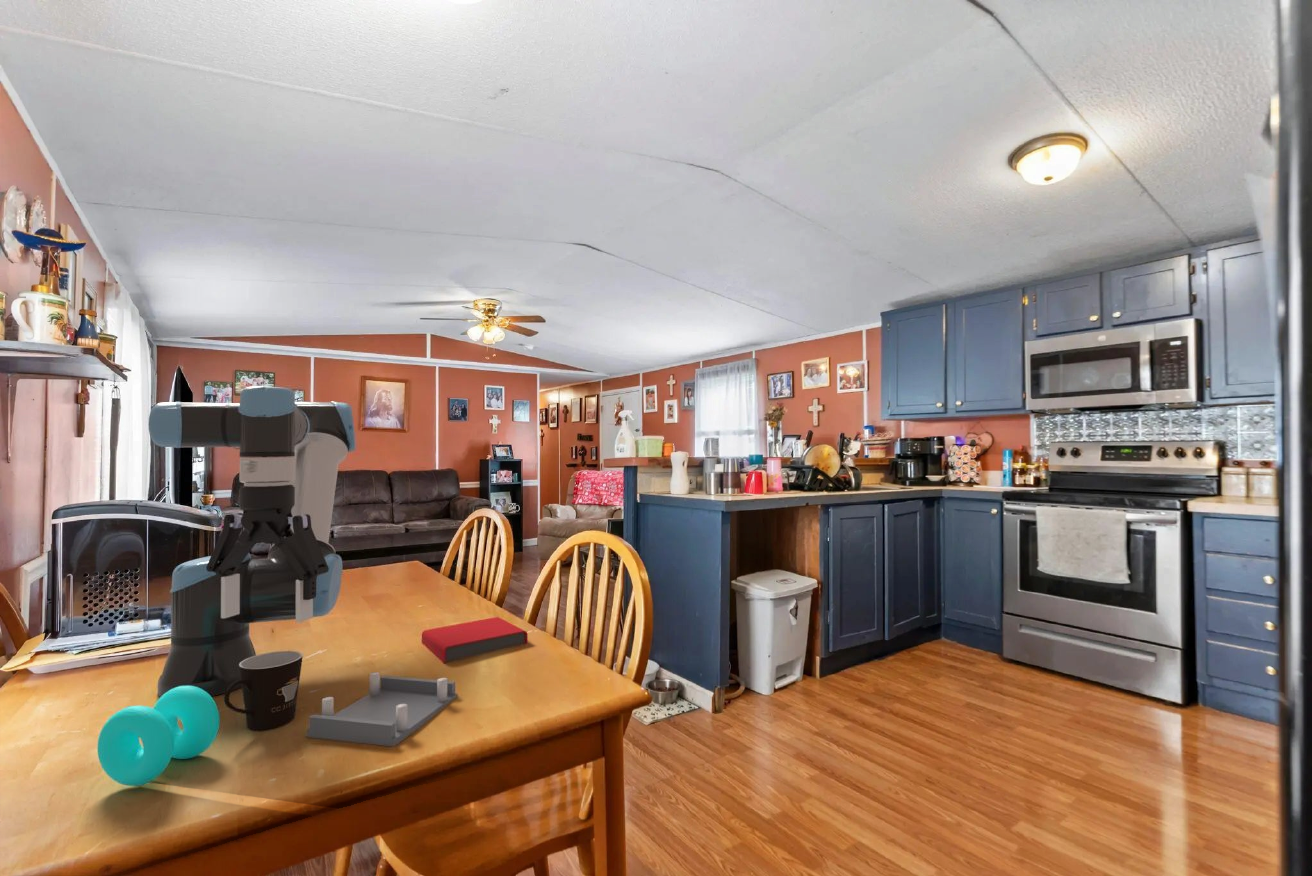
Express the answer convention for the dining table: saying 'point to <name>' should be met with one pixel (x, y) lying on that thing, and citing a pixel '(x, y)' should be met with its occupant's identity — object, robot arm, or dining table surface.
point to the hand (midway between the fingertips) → (266, 618)
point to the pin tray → (383, 711)
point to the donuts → (157, 735)
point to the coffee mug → (268, 689)
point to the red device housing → (472, 638)
